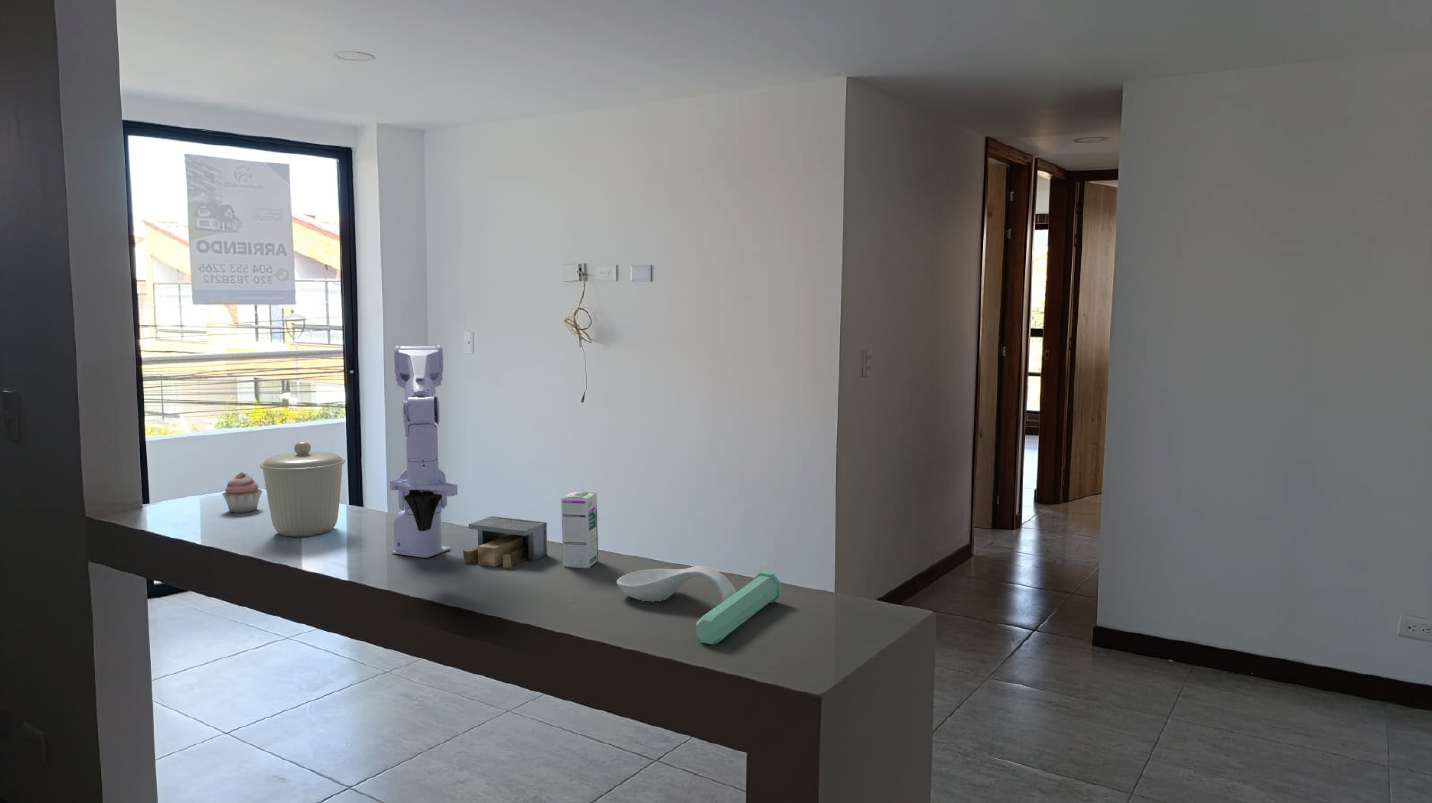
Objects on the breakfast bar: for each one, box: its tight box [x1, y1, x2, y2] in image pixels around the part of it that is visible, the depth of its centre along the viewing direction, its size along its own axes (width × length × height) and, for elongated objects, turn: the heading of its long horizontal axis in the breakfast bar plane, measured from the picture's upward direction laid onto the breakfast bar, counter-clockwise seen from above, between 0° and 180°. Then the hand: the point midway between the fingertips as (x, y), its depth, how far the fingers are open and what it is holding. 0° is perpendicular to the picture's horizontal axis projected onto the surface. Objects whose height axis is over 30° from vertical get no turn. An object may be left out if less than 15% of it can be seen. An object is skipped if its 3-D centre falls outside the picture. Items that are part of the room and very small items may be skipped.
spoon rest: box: [616, 565, 737, 603], centre depth 169 cm, size 24×12×7 cm, turn 60°
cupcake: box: [221, 471, 263, 514], centre depth 240 cm, size 9×9×10 cm
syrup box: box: [560, 491, 599, 569], centre depth 193 cm, size 6×6×14 cm
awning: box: [462, 516, 548, 569], centre depth 197 cm, size 14×12×7 cm
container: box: [695, 571, 782, 645], centre depth 159 cm, size 6×6×25 cm
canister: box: [259, 441, 346, 538], centre depth 218 cm, size 18×18×21 cm
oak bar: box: [477, 535, 523, 567], centre depth 196 cm, size 4×10×4 cm, turn 157°
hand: (424, 529), depth 180 cm, fingers closed
